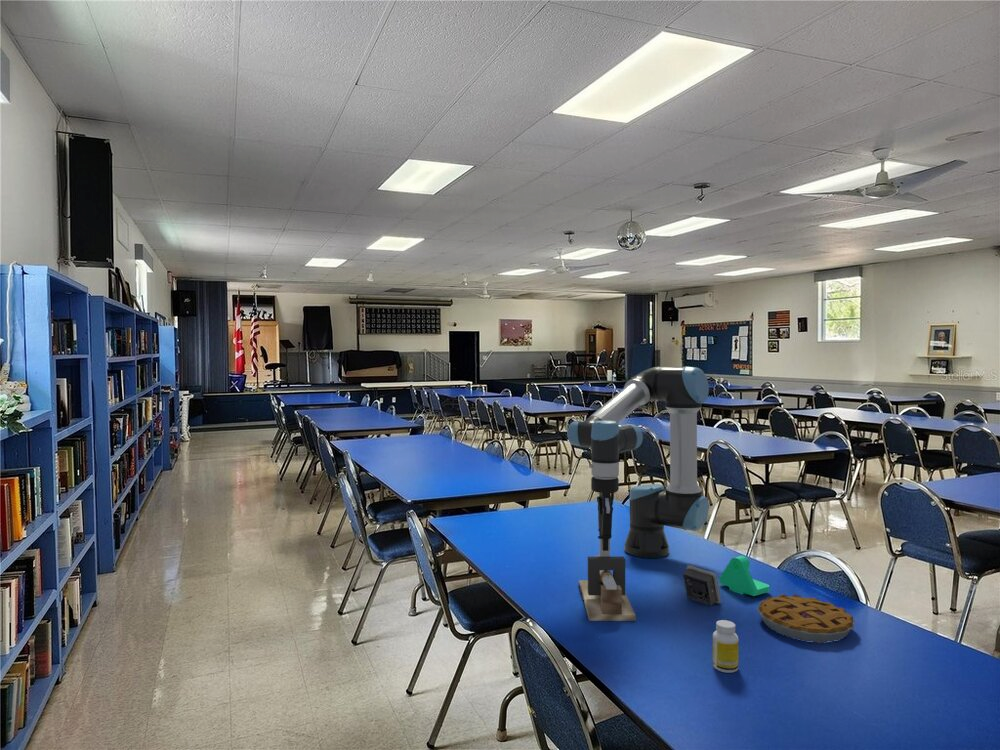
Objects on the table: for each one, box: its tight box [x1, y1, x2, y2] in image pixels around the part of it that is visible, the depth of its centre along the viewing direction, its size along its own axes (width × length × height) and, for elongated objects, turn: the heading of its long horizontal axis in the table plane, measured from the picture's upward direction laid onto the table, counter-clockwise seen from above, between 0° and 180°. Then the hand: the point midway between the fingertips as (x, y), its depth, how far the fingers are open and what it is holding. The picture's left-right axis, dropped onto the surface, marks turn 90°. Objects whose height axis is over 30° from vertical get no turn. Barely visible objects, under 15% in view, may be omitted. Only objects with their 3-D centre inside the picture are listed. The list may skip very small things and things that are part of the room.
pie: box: [756, 594, 856, 642], centre depth 159 cm, size 22×22×5 cm
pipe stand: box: [578, 576, 637, 622], centre depth 175 cm, size 12×25×8 cm, turn 179°
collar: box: [587, 556, 626, 595], centre depth 173 cm, size 10×2×10 cm, turn 89°
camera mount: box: [718, 555, 771, 597], centre depth 183 cm, size 12×8×10 cm, turn 30°
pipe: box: [594, 553, 618, 595], centre depth 175 cm, size 3×24×3 cm, turn 179°
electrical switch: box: [682, 564, 722, 607], centre depth 175 cm, size 9×5×9 cm, turn 38°
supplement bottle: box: [712, 619, 740, 674], centre depth 138 cm, size 5×5×10 cm
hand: (604, 560), depth 175 cm, fingers closed
